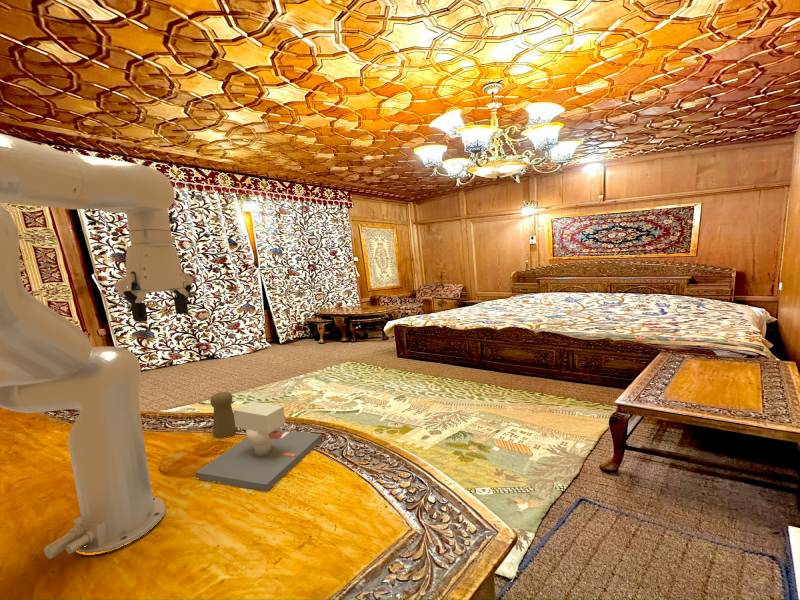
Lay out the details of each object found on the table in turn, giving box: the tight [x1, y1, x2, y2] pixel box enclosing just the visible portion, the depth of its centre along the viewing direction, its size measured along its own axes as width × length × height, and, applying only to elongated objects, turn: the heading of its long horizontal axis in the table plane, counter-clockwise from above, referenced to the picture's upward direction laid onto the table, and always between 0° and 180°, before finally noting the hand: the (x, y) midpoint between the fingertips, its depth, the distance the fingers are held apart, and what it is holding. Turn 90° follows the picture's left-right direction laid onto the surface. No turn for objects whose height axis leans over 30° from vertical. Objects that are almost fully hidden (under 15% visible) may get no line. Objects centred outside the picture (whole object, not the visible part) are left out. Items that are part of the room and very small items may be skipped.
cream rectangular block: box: [232, 401, 286, 445], centre depth 80 cm, size 10×6×7 cm, turn 65°
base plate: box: [195, 428, 323, 493], centre depth 80 cm, size 20×18×4 cm
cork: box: [210, 391, 239, 439], centre depth 94 cm, size 6×6×11 cm
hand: (162, 317), depth 80 cm, fingers open, 9 cm apart
